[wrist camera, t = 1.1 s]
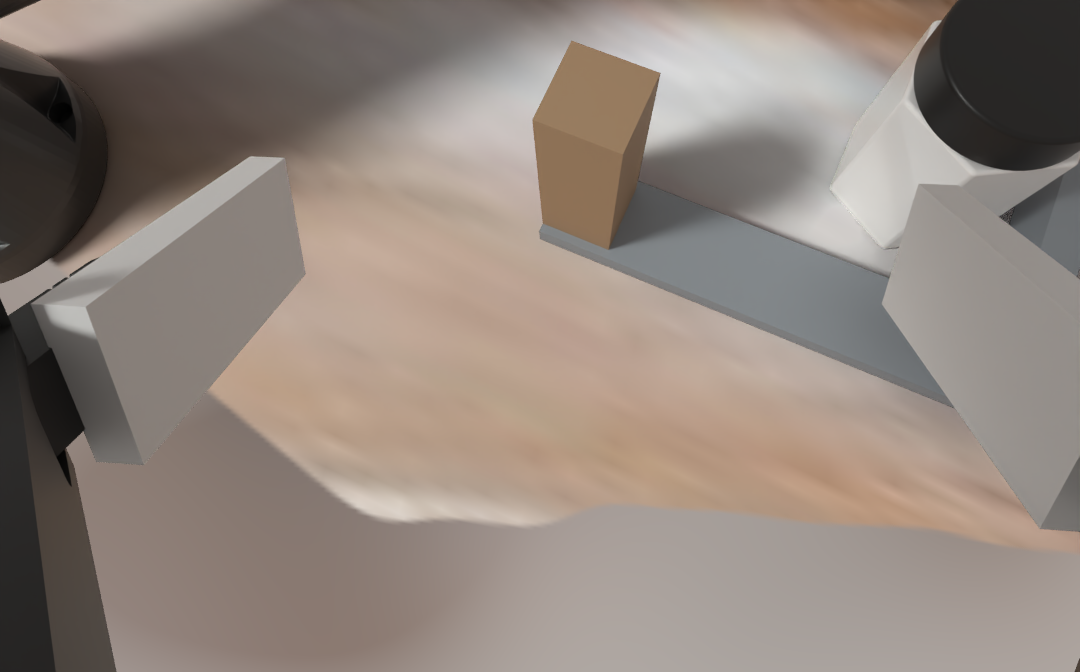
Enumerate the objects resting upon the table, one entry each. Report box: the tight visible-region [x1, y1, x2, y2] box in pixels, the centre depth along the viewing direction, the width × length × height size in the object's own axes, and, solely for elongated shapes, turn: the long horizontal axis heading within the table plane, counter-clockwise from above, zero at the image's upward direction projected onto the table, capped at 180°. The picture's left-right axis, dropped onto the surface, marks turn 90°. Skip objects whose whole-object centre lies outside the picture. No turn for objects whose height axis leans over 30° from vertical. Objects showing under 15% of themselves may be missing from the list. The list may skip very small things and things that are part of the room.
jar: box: [830, 0, 1080, 249], centre depth 34 cm, size 9×8×12 cm
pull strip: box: [533, 41, 1080, 408], centre depth 34 cm, size 26×18×12 cm
